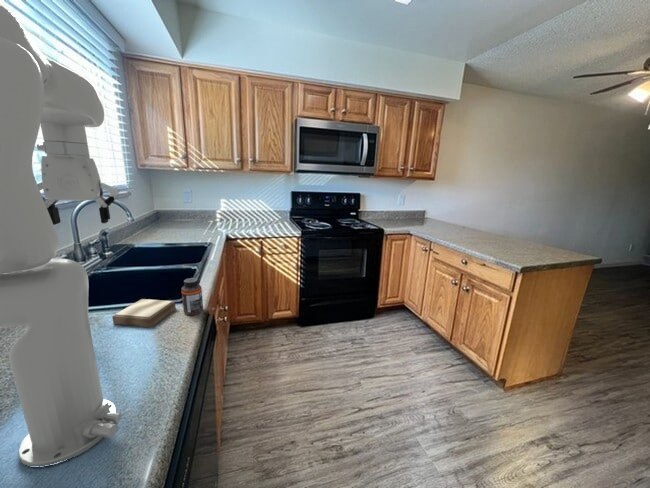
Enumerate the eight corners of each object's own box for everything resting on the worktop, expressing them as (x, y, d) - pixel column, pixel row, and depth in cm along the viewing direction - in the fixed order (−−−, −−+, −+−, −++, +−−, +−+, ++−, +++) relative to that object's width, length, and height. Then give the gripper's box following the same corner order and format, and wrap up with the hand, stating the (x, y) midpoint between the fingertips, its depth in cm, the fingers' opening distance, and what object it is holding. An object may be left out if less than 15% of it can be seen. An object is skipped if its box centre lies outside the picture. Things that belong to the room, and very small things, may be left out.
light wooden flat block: (175, 308, 94) (174, 300, 93) (150, 327, 82) (149, 317, 82) (142, 306, 95) (141, 298, 94) (113, 324, 83) (112, 314, 83)
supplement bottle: (183, 309, 94) (180, 278, 91) (202, 306, 96) (200, 275, 94) (183, 317, 88) (180, 284, 86) (204, 313, 91) (201, 281, 88)
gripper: (7, 147, 58) (26, 227, 62) (108, 152, 65) (119, 224, 69) (27, 149, 64) (43, 221, 69) (117, 154, 71) (126, 219, 76)
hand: (81, 223), depth 69 cm, fingers open, 9 cm apart
